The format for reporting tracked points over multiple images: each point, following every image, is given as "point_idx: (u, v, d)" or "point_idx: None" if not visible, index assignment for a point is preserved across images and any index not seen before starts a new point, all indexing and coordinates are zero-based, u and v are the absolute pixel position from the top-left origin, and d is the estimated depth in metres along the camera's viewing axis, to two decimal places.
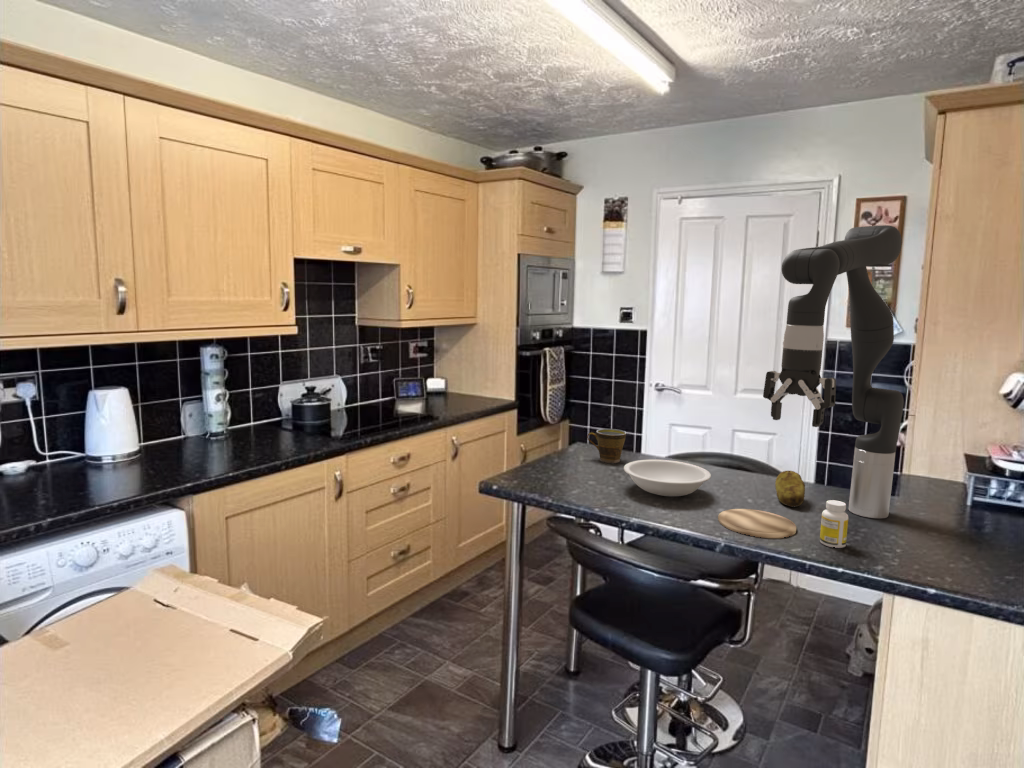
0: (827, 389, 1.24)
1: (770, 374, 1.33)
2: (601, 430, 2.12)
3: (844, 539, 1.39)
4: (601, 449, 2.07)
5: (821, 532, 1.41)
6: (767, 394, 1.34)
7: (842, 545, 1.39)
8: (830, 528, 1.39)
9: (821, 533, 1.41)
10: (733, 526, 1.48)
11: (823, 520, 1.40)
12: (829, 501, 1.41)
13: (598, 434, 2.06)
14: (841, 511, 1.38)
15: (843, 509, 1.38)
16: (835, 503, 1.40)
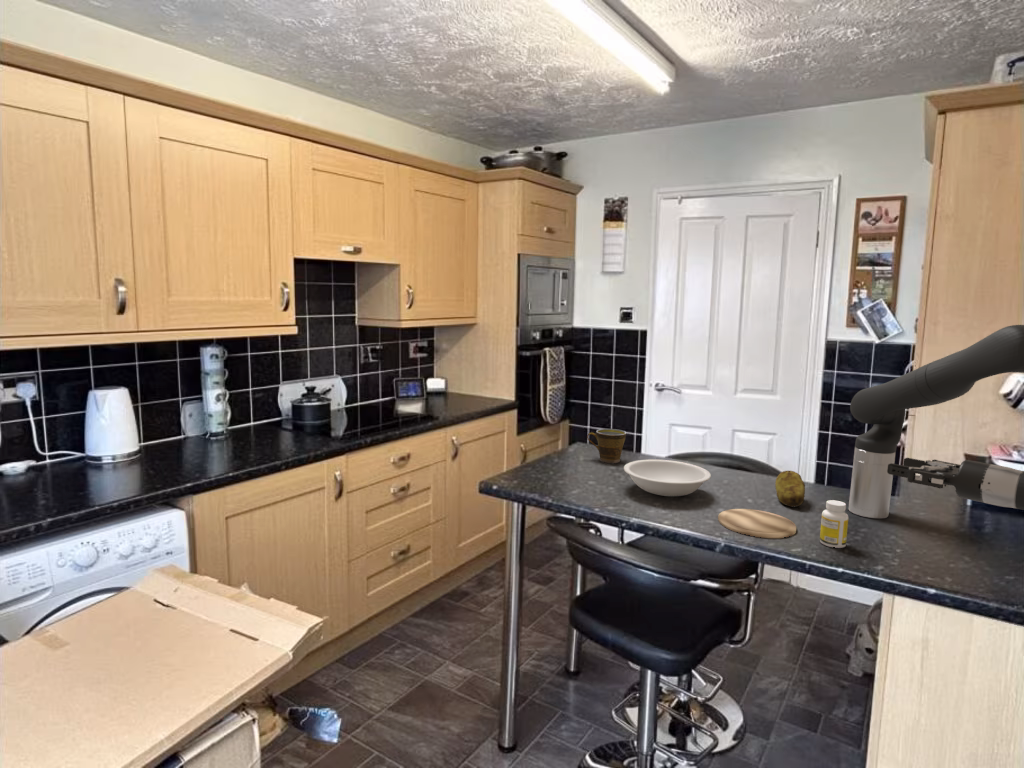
0: None
1: None
2: (601, 430, 2.12)
3: (844, 539, 1.39)
4: (601, 449, 2.07)
5: (821, 532, 1.41)
6: None
7: (842, 545, 1.39)
8: (830, 528, 1.39)
9: (821, 533, 1.41)
10: (733, 526, 1.48)
11: (823, 520, 1.40)
12: (829, 501, 1.41)
13: (598, 434, 2.06)
14: (841, 511, 1.38)
15: (843, 509, 1.38)
16: (835, 503, 1.40)
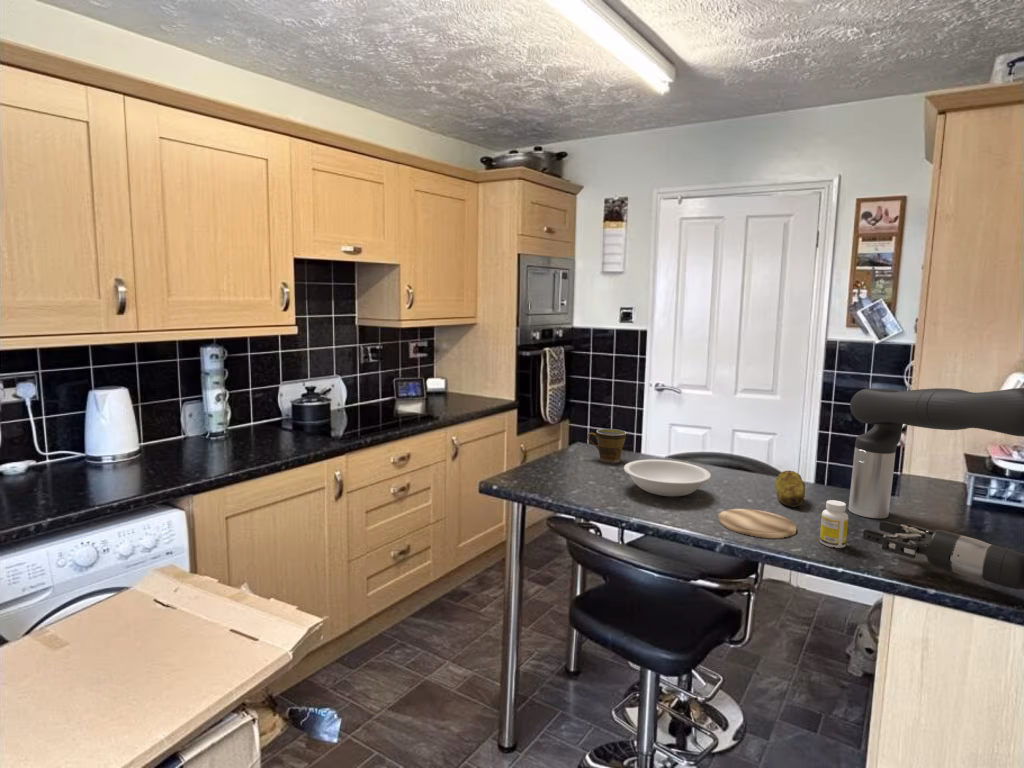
0: None
1: None
2: (601, 430, 2.12)
3: (844, 539, 1.39)
4: (601, 449, 2.07)
5: (821, 532, 1.41)
6: None
7: (842, 545, 1.39)
8: (830, 528, 1.39)
9: (821, 533, 1.41)
10: (733, 526, 1.48)
11: (823, 520, 1.40)
12: (829, 501, 1.41)
13: (598, 434, 2.06)
14: (841, 511, 1.38)
15: (843, 509, 1.38)
16: (835, 503, 1.40)
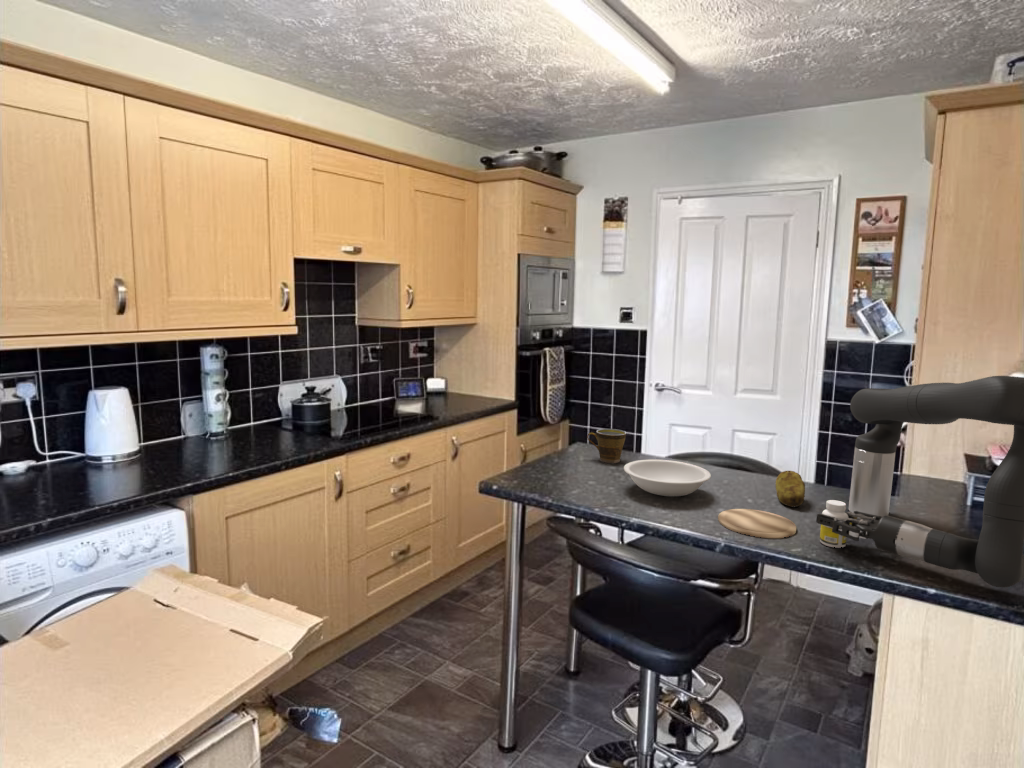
0: None
1: None
2: (601, 430, 2.12)
3: (844, 539, 1.39)
4: (601, 449, 2.07)
5: (821, 532, 1.41)
6: None
7: (842, 545, 1.39)
8: (830, 528, 1.39)
9: (821, 533, 1.41)
10: (733, 526, 1.48)
11: None
12: (829, 501, 1.41)
13: (598, 434, 2.06)
14: (841, 511, 1.38)
15: (843, 509, 1.38)
16: (835, 503, 1.40)
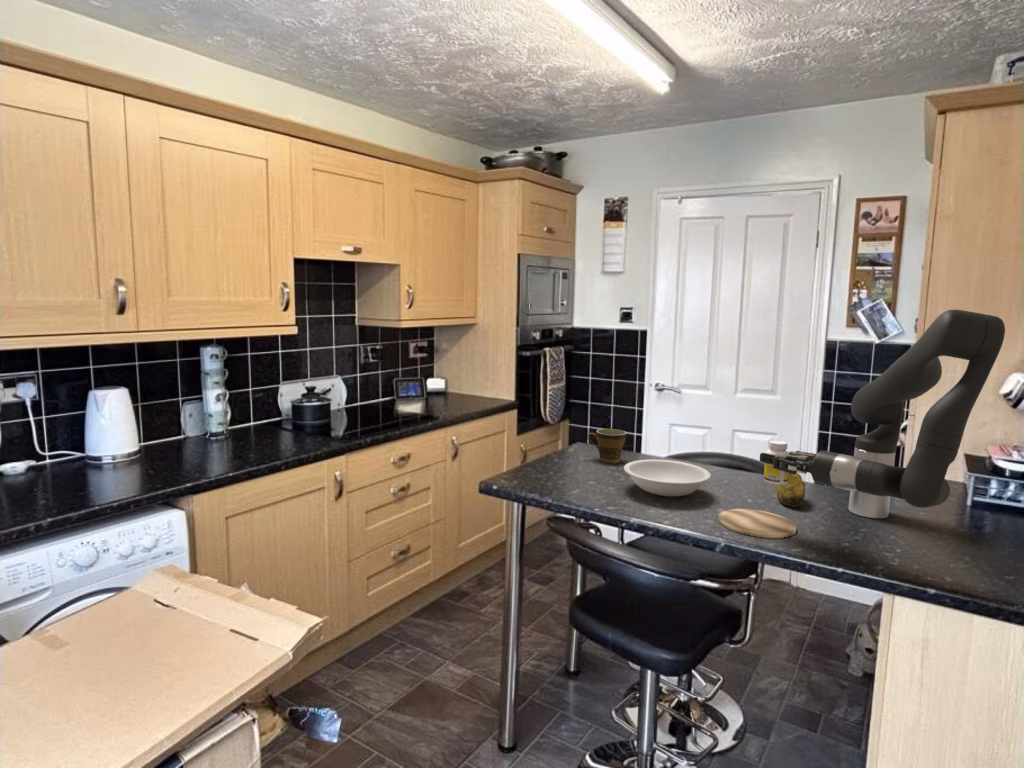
0: None
1: None
2: (601, 430, 2.12)
3: (786, 476, 1.46)
4: (601, 449, 2.07)
5: (765, 471, 1.48)
6: None
7: (784, 482, 1.46)
8: (772, 466, 1.46)
9: (765, 472, 1.48)
10: (733, 526, 1.48)
11: None
12: (772, 441, 1.48)
13: (598, 434, 2.06)
14: (782, 449, 1.45)
15: (784, 447, 1.46)
16: (777, 442, 1.47)
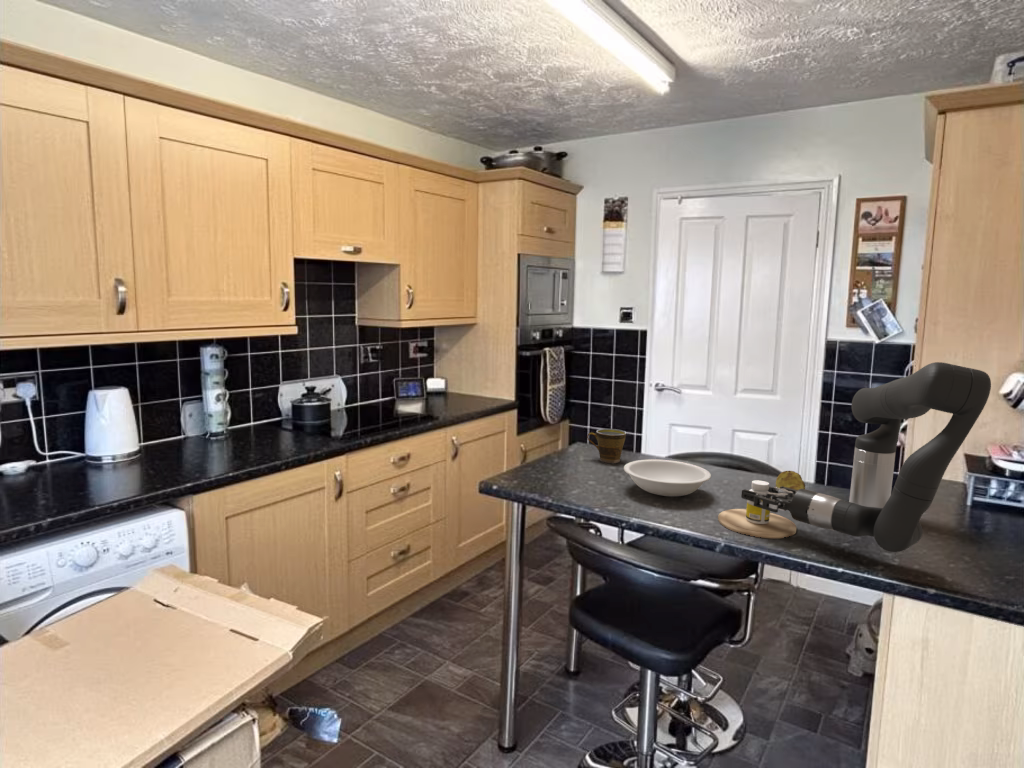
0: None
1: None
2: (601, 430, 2.12)
3: (767, 516, 1.50)
4: (601, 449, 2.07)
5: (747, 510, 1.52)
6: None
7: (765, 522, 1.50)
8: None
9: (747, 511, 1.52)
10: (733, 526, 1.48)
11: None
12: (754, 481, 1.52)
13: (598, 434, 2.06)
14: (764, 490, 1.49)
15: (766, 488, 1.49)
16: (759, 483, 1.51)
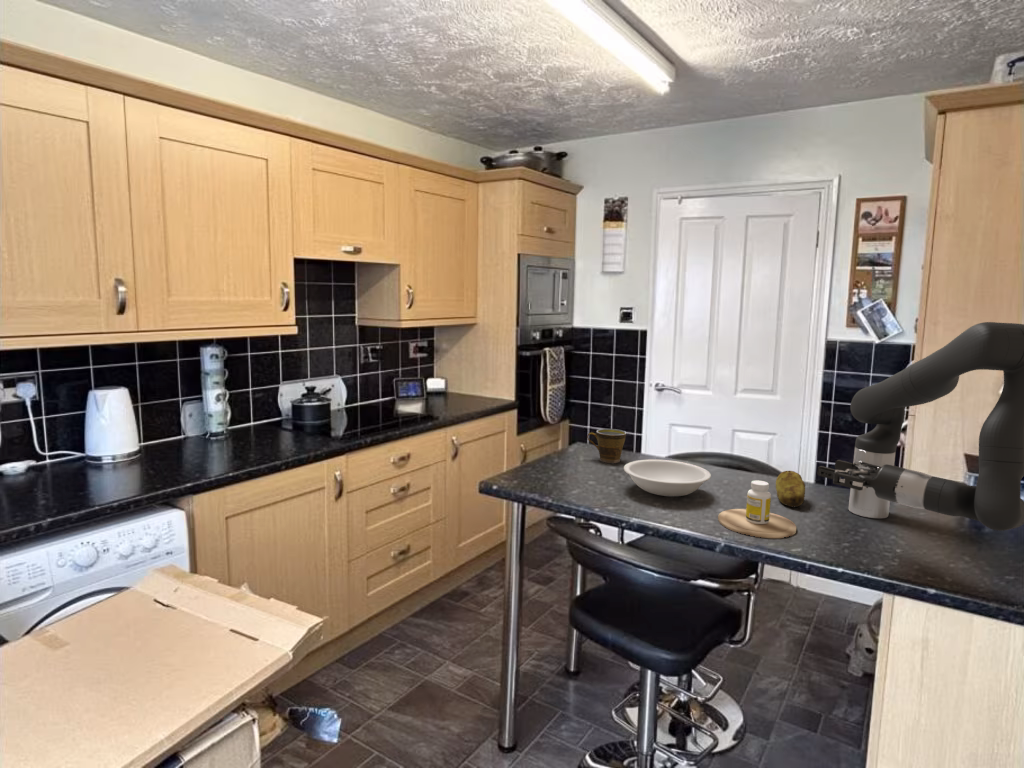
0: None
1: None
2: (601, 430, 2.12)
3: (766, 516, 1.50)
4: (601, 449, 2.07)
5: (746, 510, 1.52)
6: None
7: (765, 522, 1.50)
8: (753, 506, 1.50)
9: (746, 511, 1.52)
10: (733, 526, 1.48)
11: (748, 499, 1.51)
12: (754, 481, 1.52)
13: (598, 434, 2.06)
14: (764, 490, 1.49)
15: (765, 488, 1.49)
16: (759, 483, 1.51)
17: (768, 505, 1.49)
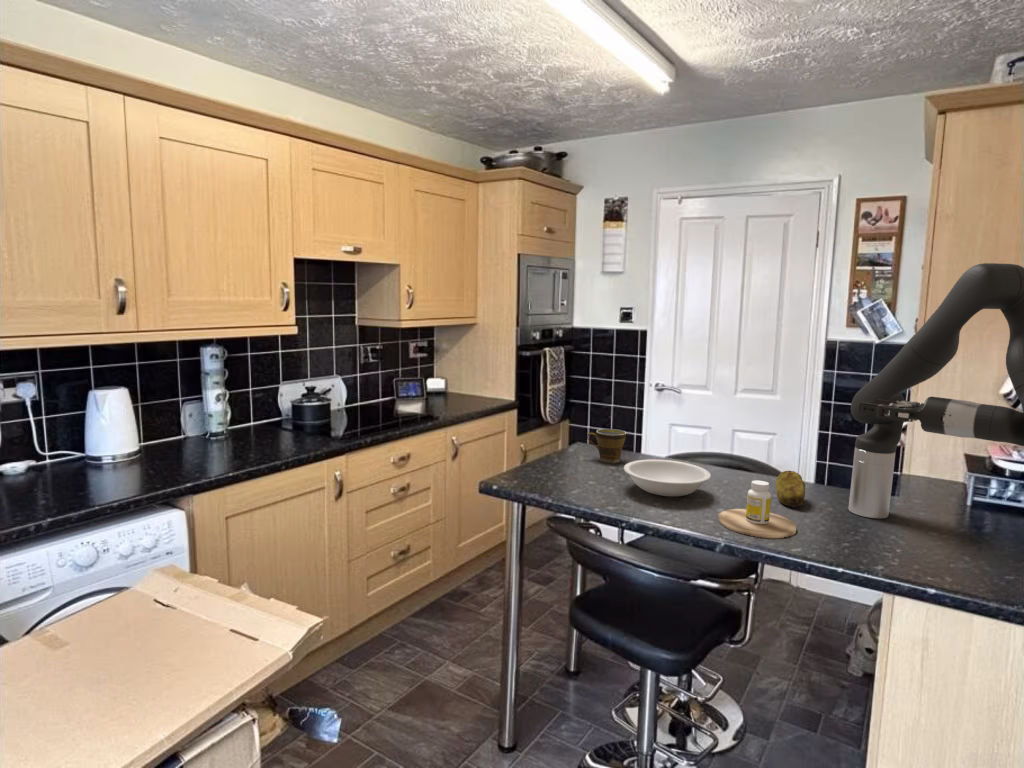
0: None
1: None
2: (601, 430, 2.12)
3: (766, 516, 1.50)
4: (601, 449, 2.07)
5: (746, 510, 1.52)
6: None
7: (765, 522, 1.50)
8: (753, 505, 1.50)
9: (746, 511, 1.52)
10: (733, 526, 1.48)
11: (748, 498, 1.51)
12: (754, 481, 1.52)
13: (598, 434, 2.06)
14: (764, 490, 1.49)
15: (766, 488, 1.49)
16: (759, 483, 1.51)
17: (768, 505, 1.50)
